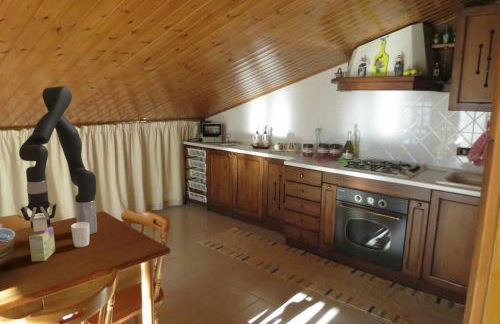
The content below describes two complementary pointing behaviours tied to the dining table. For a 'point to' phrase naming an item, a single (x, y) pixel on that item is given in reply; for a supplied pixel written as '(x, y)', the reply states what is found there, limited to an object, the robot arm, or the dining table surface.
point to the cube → (40, 223)
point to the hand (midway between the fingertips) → (41, 227)
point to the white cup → (80, 234)
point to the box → (42, 244)
